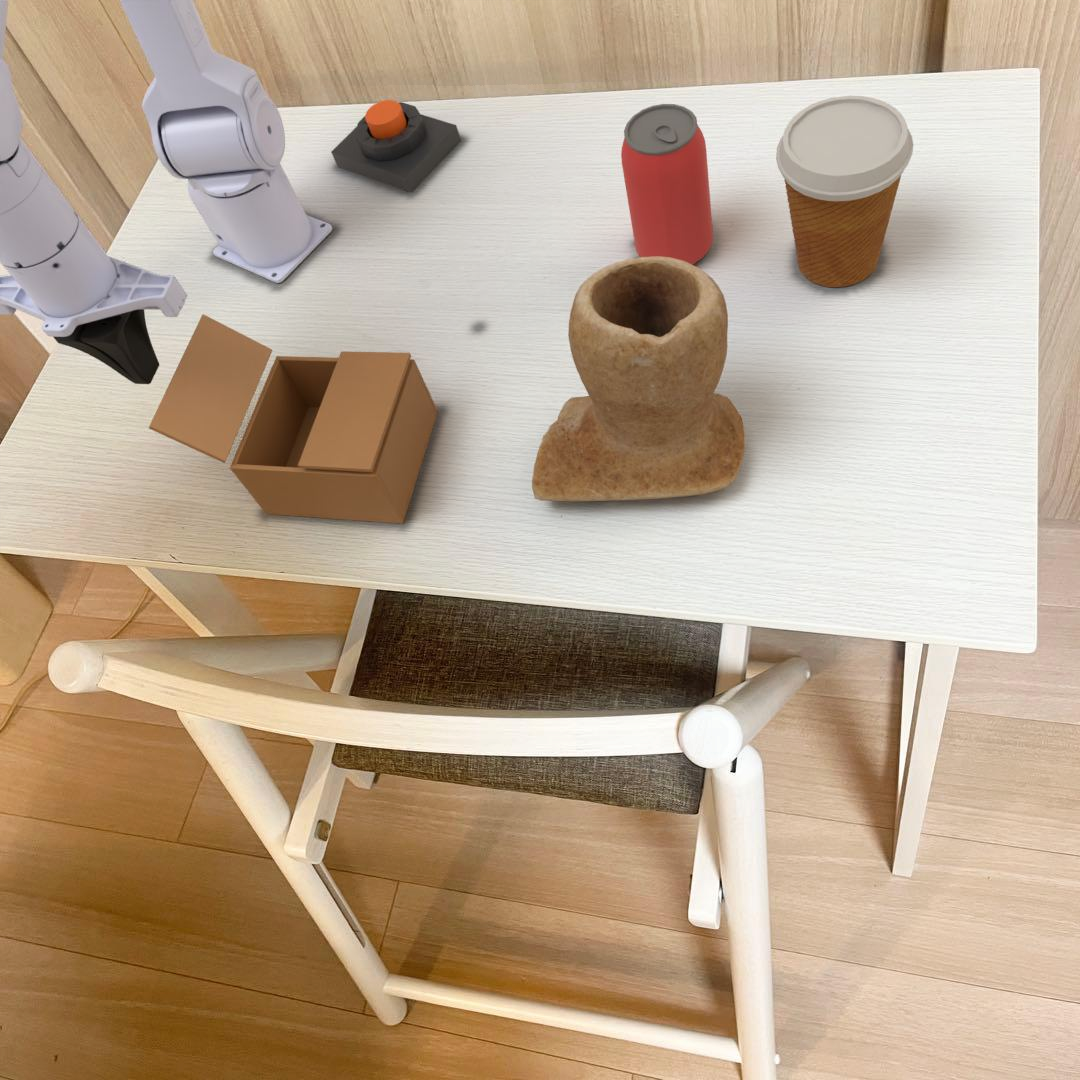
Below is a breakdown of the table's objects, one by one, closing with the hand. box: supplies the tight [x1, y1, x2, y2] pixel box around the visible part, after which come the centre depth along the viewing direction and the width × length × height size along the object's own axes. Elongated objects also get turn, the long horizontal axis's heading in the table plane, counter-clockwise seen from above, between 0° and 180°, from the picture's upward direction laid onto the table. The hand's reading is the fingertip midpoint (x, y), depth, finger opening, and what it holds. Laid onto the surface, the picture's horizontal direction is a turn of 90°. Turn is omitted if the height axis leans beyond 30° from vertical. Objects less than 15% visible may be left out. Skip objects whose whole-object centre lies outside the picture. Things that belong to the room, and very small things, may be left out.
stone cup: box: [531, 256, 746, 502], centre depth 71 cm, size 15×12×15 cm
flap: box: [148, 313, 273, 464], centre depth 77 cm, size 6×11×1 cm
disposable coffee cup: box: [775, 95, 914, 288], centre depth 78 cm, size 10×10×12 cm
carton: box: [229, 350, 439, 525], centre depth 80 cm, size 12×11×7 cm
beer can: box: [620, 103, 714, 265], centre depth 83 cm, size 7×7×12 cm
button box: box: [330, 101, 462, 194], centre depth 101 cm, size 10×8×4 cm
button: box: [364, 99, 407, 139], centre depth 99 cm, size 4×4×2 cm
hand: (147, 373), depth 77 cm, fingers closed
